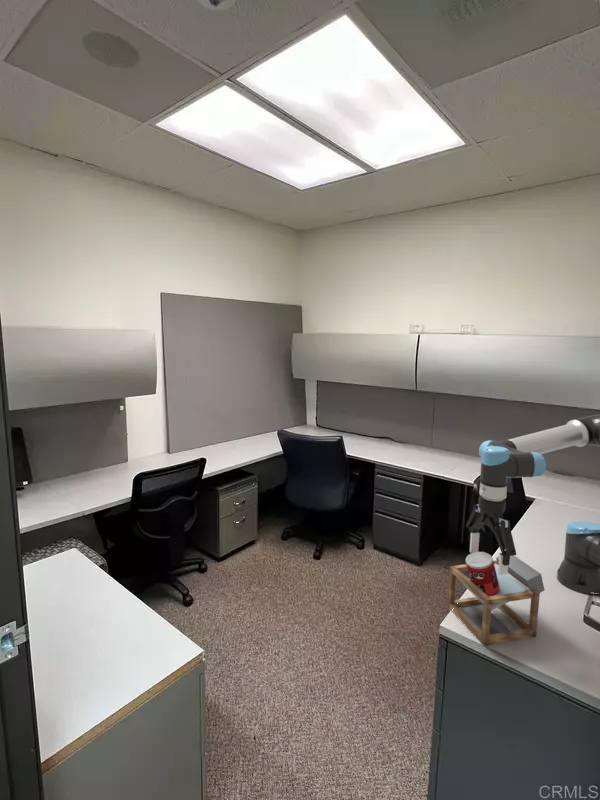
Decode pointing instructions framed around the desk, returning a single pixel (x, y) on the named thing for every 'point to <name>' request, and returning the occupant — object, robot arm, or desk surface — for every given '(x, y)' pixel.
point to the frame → (481, 616)
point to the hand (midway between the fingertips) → (487, 562)
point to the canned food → (483, 572)
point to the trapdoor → (516, 579)
